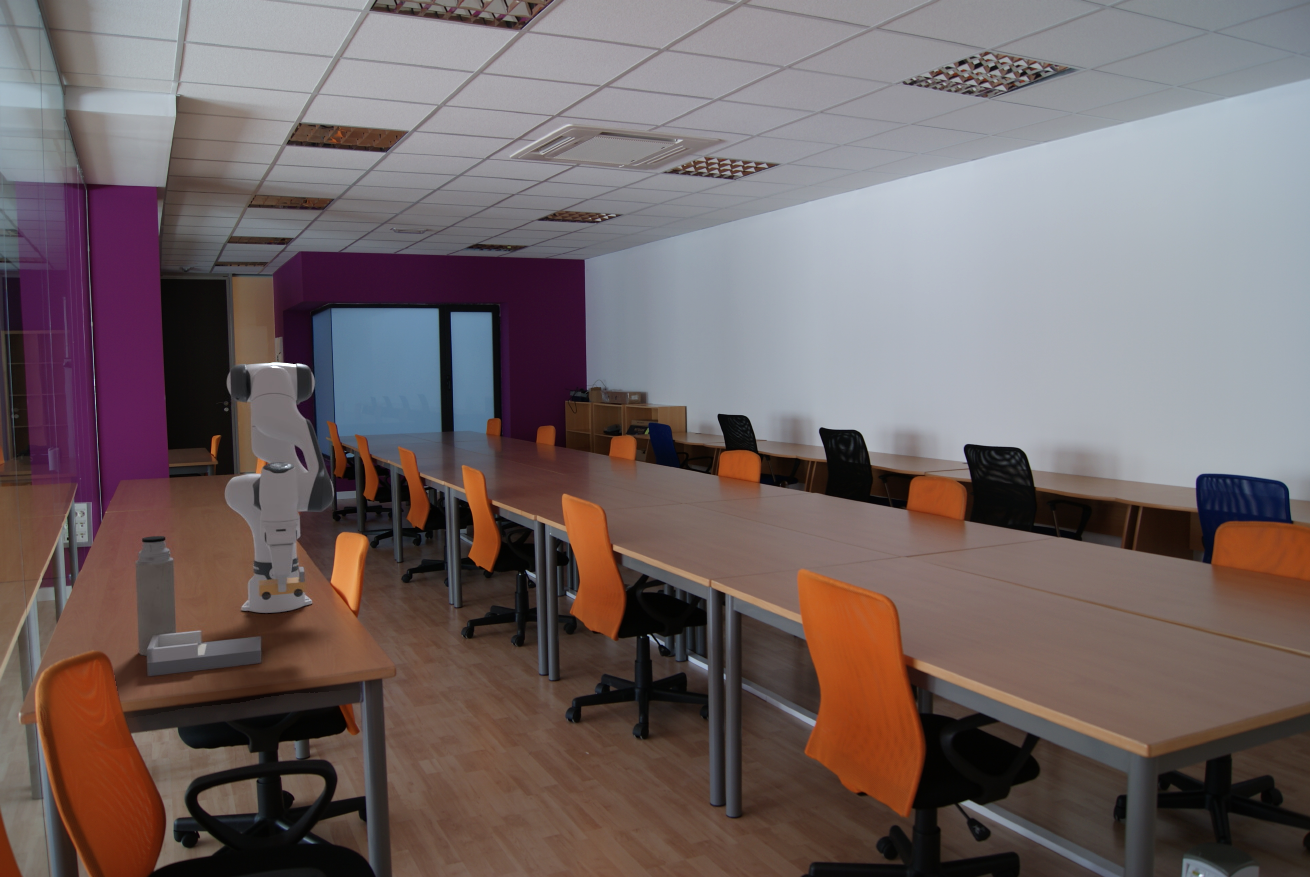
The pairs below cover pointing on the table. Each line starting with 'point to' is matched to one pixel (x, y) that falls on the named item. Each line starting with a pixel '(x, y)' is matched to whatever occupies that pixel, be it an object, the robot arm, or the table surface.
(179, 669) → the dock
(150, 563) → the thermos bottle
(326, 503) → the robot arm
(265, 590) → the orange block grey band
